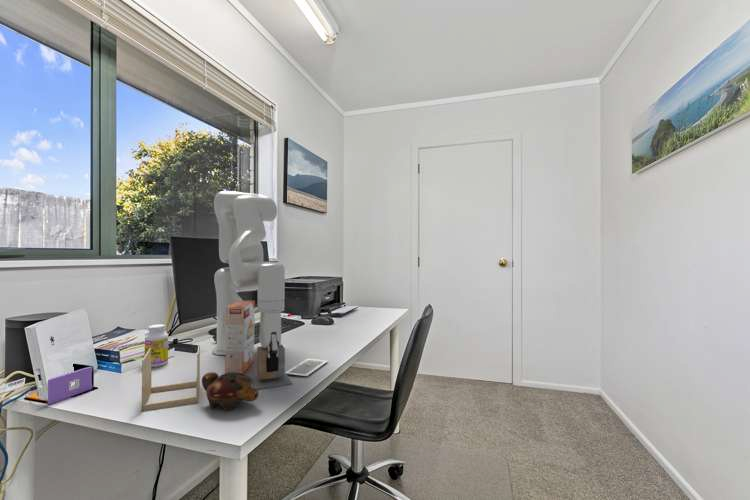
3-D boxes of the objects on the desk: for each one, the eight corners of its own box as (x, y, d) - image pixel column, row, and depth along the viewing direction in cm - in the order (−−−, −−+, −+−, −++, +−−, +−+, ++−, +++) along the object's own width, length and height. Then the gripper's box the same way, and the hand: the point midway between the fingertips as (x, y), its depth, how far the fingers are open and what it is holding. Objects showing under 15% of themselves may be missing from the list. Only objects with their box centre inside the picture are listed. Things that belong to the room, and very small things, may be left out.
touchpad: (328, 363, 116) (328, 357, 116) (306, 379, 102) (306, 372, 102) (307, 361, 119) (307, 355, 119) (283, 376, 104) (283, 369, 104)
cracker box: (244, 375, 104) (245, 306, 104) (224, 375, 104) (224, 306, 104) (255, 360, 118) (255, 299, 118) (237, 361, 118) (237, 300, 118)
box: (257, 374, 100) (257, 346, 100) (281, 370, 103) (281, 344, 103) (259, 380, 96) (259, 351, 96) (284, 376, 99) (284, 348, 99)
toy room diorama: (101, 389, 94) (101, 364, 94) (49, 409, 82) (49, 380, 82) (69, 385, 97) (69, 360, 97) (15, 403, 85) (15, 375, 85)
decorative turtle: (214, 395, 90) (214, 365, 90) (268, 400, 87) (268, 368, 87) (187, 412, 80) (187, 378, 80) (246, 418, 77) (247, 383, 77)
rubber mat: (250, 377, 102) (250, 376, 102) (285, 372, 106) (285, 371, 106) (254, 390, 93) (254, 388, 93) (291, 384, 97) (291, 382, 97)
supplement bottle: (139, 368, 110) (139, 328, 110) (152, 361, 117) (152, 323, 117) (160, 367, 110) (161, 328, 111) (172, 361, 117) (172, 323, 117)
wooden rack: (149, 393, 91) (149, 347, 91) (199, 385, 96) (199, 342, 96) (141, 412, 80) (141, 360, 80) (198, 402, 85) (198, 354, 85)
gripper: (254, 302, 106) (253, 361, 106) (261, 311, 90) (261, 380, 90) (279, 300, 109) (278, 358, 109) (290, 309, 94) (289, 375, 94)
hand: (270, 367), depth 100 cm, fingers closed on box, 5 cm apart
